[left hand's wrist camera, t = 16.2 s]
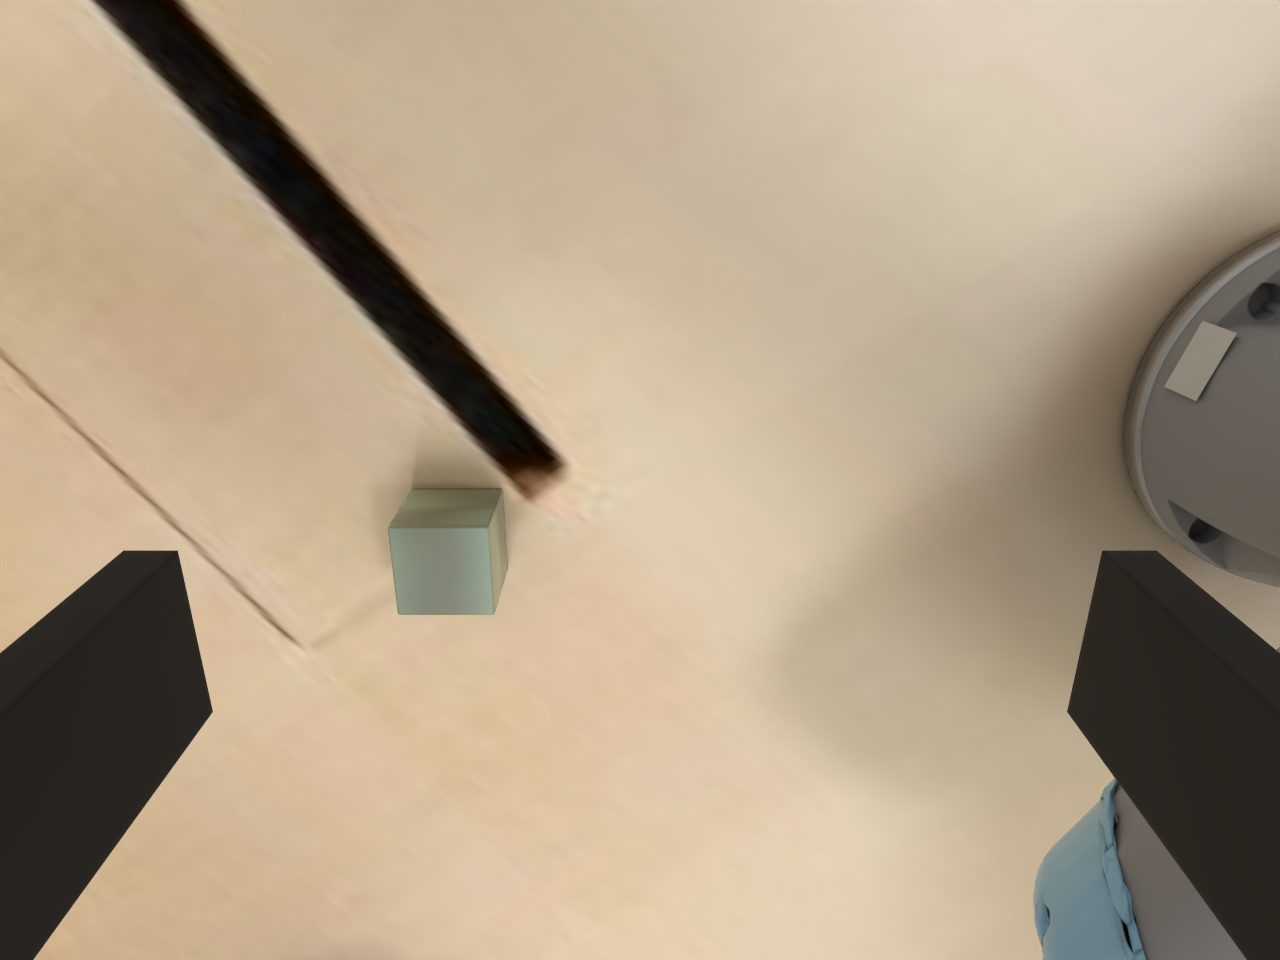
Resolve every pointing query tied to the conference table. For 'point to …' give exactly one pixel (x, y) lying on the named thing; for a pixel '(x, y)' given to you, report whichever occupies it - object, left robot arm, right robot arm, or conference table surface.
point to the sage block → (449, 552)
